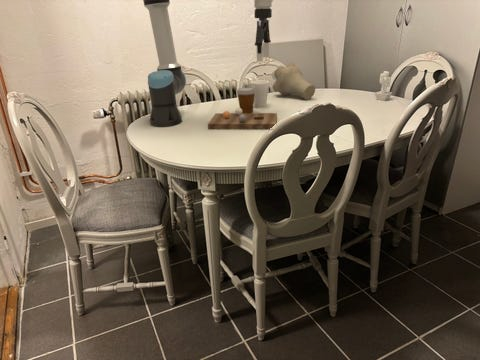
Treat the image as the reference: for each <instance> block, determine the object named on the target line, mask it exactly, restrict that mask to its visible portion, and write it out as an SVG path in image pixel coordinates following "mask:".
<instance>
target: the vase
mask: <svg viewBox="0 0 480 360" xmlns="http://www.w3.org/2000/svg"><path fill="white" fill-rule="evenodd" d="M273 75H274V78H275V79H276V81H274V82H273V84H272V90H273V91H274V92H276V93H277V92H278V93H279V94H281V95H282V96H283V95H284V96H290V95H297V96H299V97H300V98H303V99H304V100H310V99H312V98H313V96H314V95H315V93H316V86H315V85H314V84H311V83H309V82H308V81H307V80H306V79H305V78H304V76H303V72H302V70H301V69H300V68H299V67H298V66H296V65H295V63H291V62H290V63H288V64H287V65H286V66H283V65H278V67H277V68H276V69H275V72H274V73H273Z"/></svg>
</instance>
